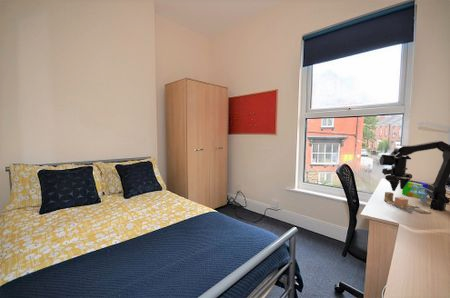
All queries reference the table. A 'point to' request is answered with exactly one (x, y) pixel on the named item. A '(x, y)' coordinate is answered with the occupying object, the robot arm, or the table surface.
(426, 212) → the pair of tan slabs
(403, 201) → the cube
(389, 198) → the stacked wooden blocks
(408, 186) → the puzzle toy
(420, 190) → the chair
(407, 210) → the lane bed
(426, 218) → the table surface
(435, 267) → the table surface
